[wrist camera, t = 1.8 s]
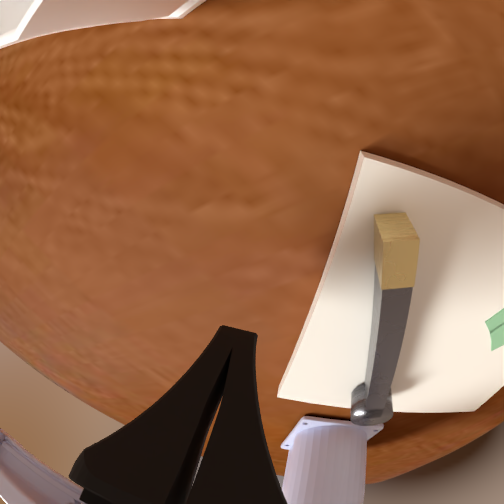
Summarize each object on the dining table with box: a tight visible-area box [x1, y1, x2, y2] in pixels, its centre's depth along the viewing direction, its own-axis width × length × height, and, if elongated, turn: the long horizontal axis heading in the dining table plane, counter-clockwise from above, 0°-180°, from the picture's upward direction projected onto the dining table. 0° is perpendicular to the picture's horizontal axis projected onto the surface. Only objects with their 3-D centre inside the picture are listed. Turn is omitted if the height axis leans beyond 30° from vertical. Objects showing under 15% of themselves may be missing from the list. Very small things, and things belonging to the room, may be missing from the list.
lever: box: [351, 212, 420, 426], centre depth 13 cm, size 14×3×2 cm, turn 13°
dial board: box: [277, 151, 504, 413], centre depth 14 cm, size 17×19×1 cm
